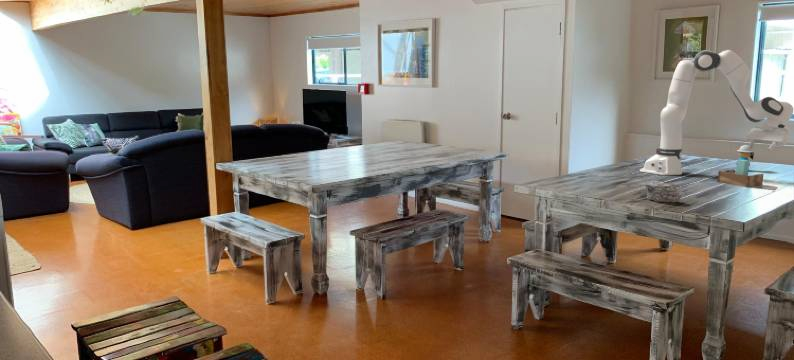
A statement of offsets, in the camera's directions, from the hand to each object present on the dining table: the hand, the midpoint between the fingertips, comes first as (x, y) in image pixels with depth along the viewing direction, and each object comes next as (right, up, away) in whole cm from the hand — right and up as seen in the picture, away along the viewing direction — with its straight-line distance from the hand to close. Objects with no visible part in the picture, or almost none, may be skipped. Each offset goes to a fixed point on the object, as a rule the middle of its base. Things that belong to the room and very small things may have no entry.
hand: (759, 148), depth 325 cm
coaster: (-5, -21, -14) cm, 26 cm away
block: (-11, -18, -3) cm, 21 cm away
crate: (-11, -19, -3) cm, 22 cm away
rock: (-68, -26, -40) cm, 83 cm away
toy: (+14, -11, +41) cm, 44 cm away
